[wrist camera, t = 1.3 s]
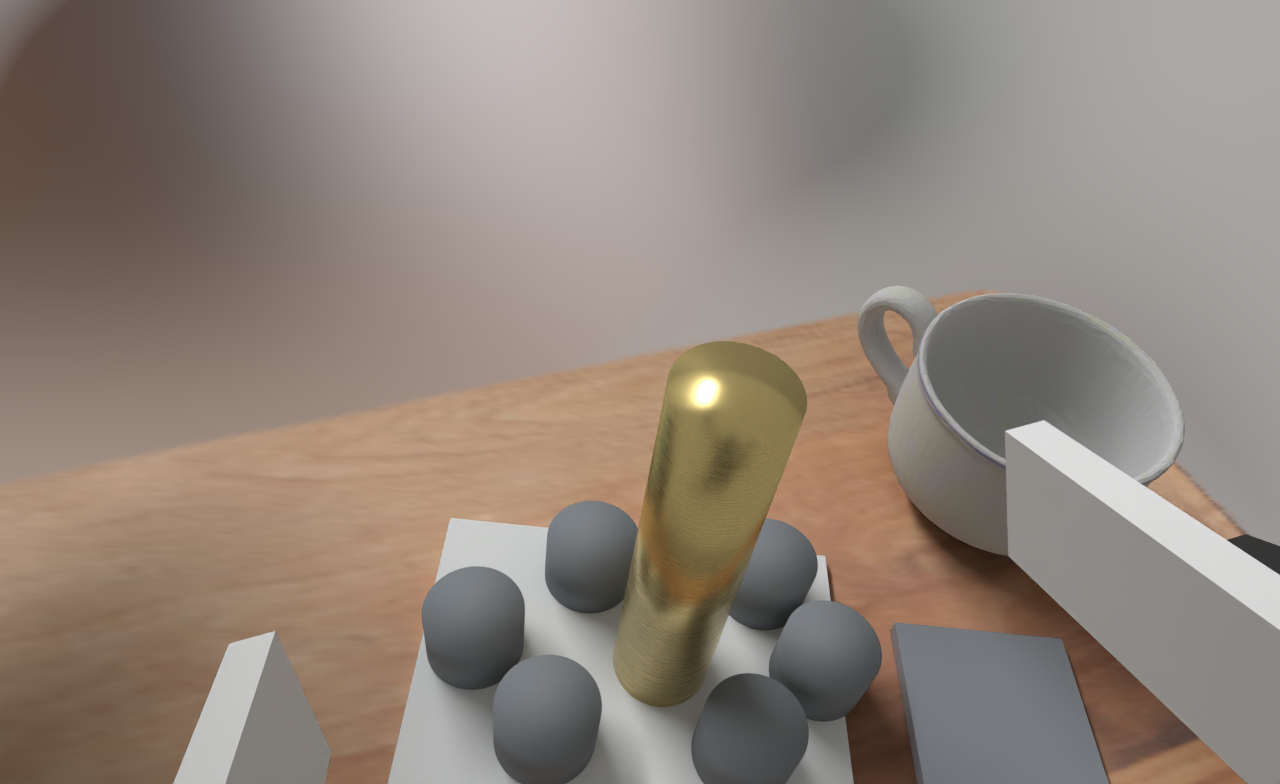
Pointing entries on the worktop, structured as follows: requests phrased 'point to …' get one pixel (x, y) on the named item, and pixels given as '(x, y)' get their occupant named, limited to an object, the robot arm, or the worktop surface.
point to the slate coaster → (992, 708)
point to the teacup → (1010, 399)
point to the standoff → (703, 512)
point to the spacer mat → (586, 681)
